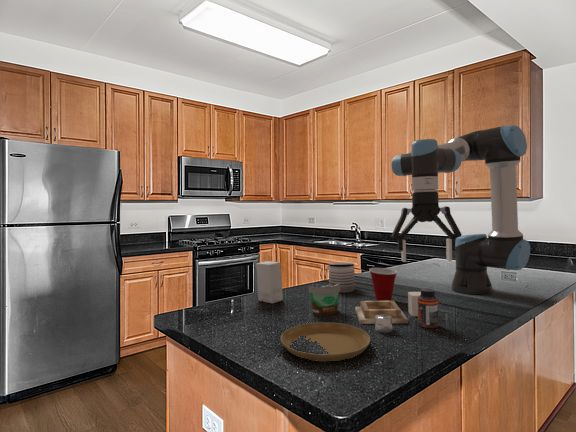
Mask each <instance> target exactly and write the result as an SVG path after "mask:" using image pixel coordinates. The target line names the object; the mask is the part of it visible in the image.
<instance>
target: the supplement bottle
mask: <svg viewBox="0 0 576 432" xmlns="http://www.w3.org/2000/svg"><path fill="white" fill-rule="evenodd" d="M420 292H421V295H420V296H418V316H417V323H418V324H417V325H418V326H420V327H422V328H425V329H435V328H439V327H438V326H439V298H438V296H436V295H435V294H436V293H435V289H434V288H429V287H428V288H427V287H424V288H421V289H420Z"/></svg>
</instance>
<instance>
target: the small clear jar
mask: <svg viewBox="0 0 576 432" xmlns="http://www.w3.org/2000/svg"><path fill="white" fill-rule="evenodd" d="M374 325H375V326H374V327H375V328H374V329H375V331H376V332H379V333H384V334H386V333H392V331H393V323H392V316H390V315H385V314H380V315H376V316H375V324H374Z"/></svg>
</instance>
